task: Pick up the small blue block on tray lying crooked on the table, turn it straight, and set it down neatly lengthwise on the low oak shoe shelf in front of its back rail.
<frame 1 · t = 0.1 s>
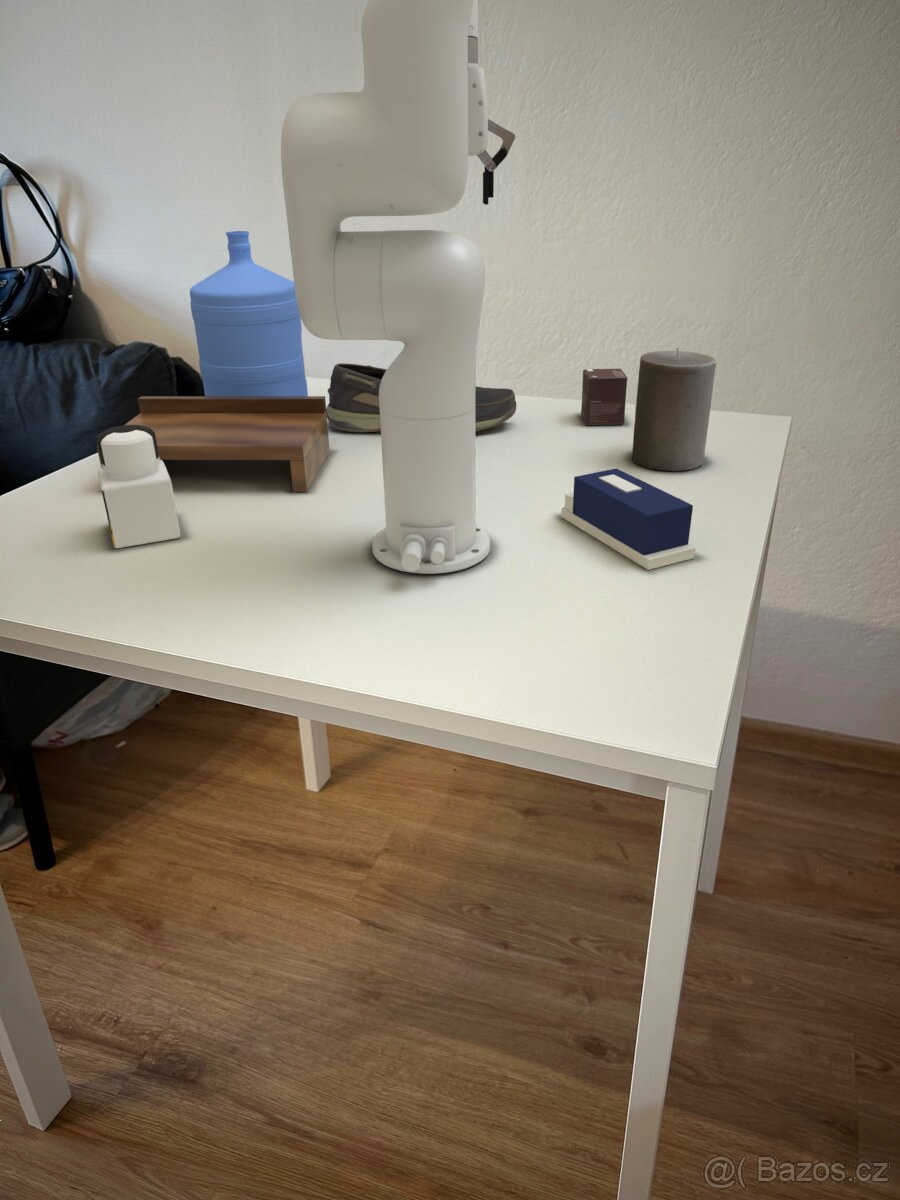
hand: (450, 204, 117), 31 cm above the table, tool pointing down, fingers open, 9 cm apart
shelf: (224, 470, 116), on the table
medicine bottle: (145, 534, 98), on the table
box: (601, 421, 134), on the table
water jug: (261, 428, 134), on the table
pillar candle: (667, 461, 117), on the table
blue block on tray: (624, 536, 95), on the table
boat shoe: (421, 428, 133), on the table
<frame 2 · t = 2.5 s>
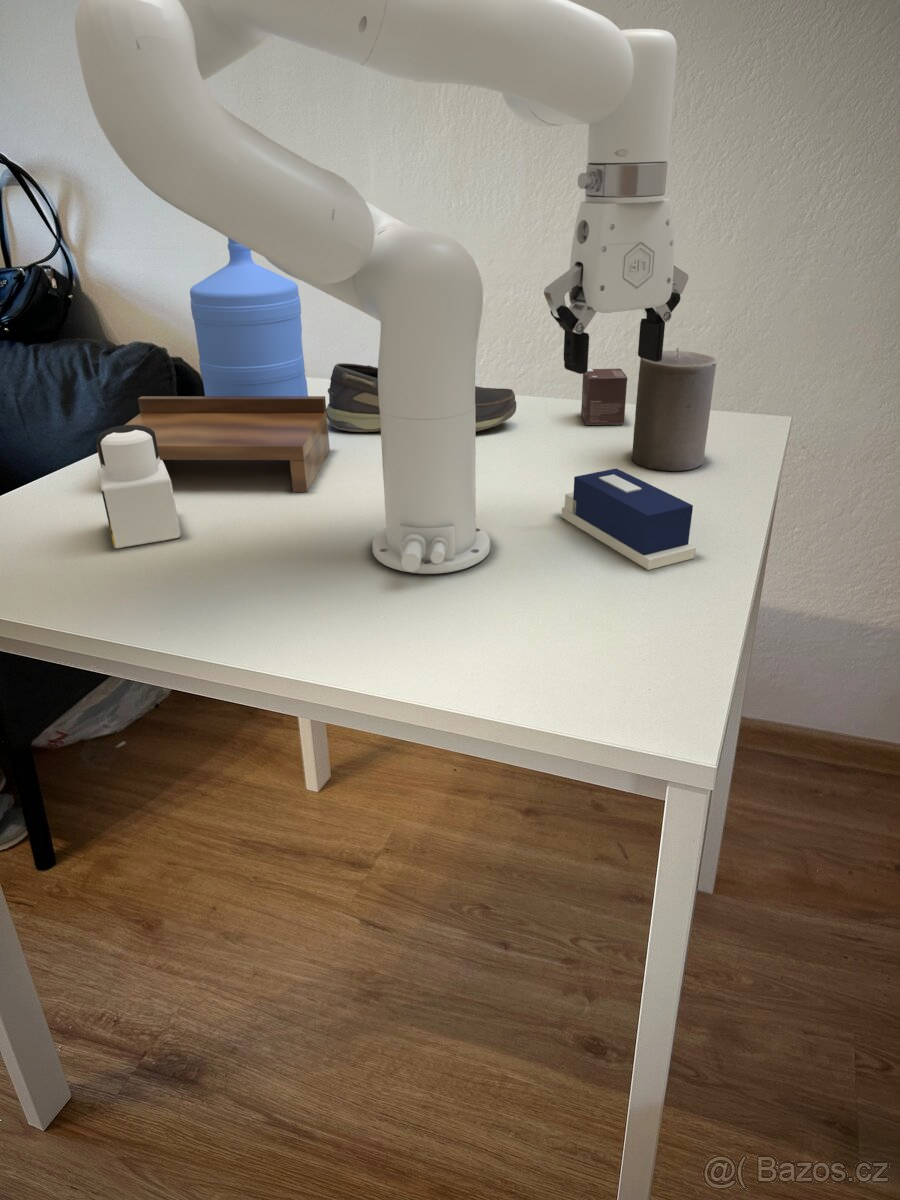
hand: (613, 365, 90), 18 cm above the table, tool pointing down, fingers open, 9 cm apart
nothing on the table moved.
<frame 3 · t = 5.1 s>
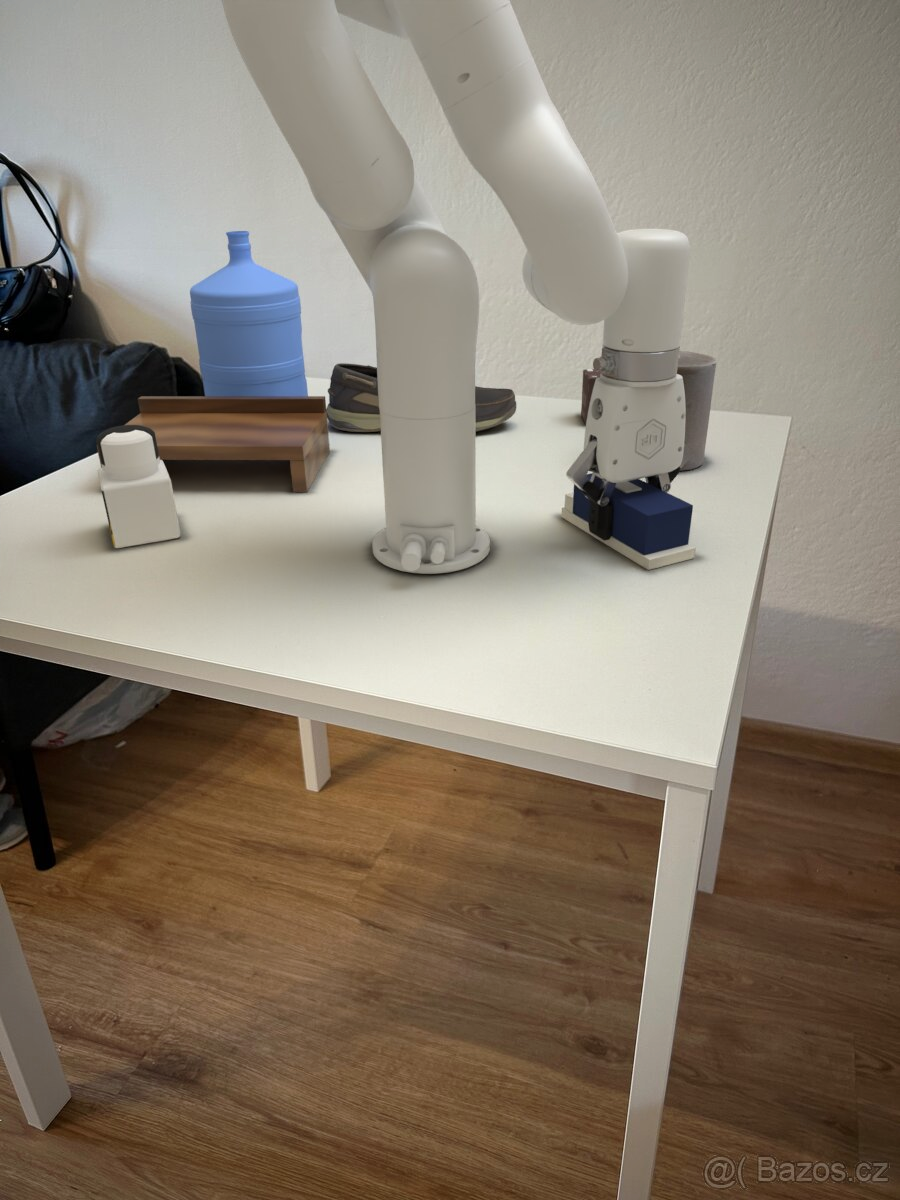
hand: (625, 528, 94), 1 cm above the table, tool pointing down, fingers closed on blue block on tray, 6 cm apart
blue block on tray: (624, 536, 95), on the table, touching gripper
everything else where it was.
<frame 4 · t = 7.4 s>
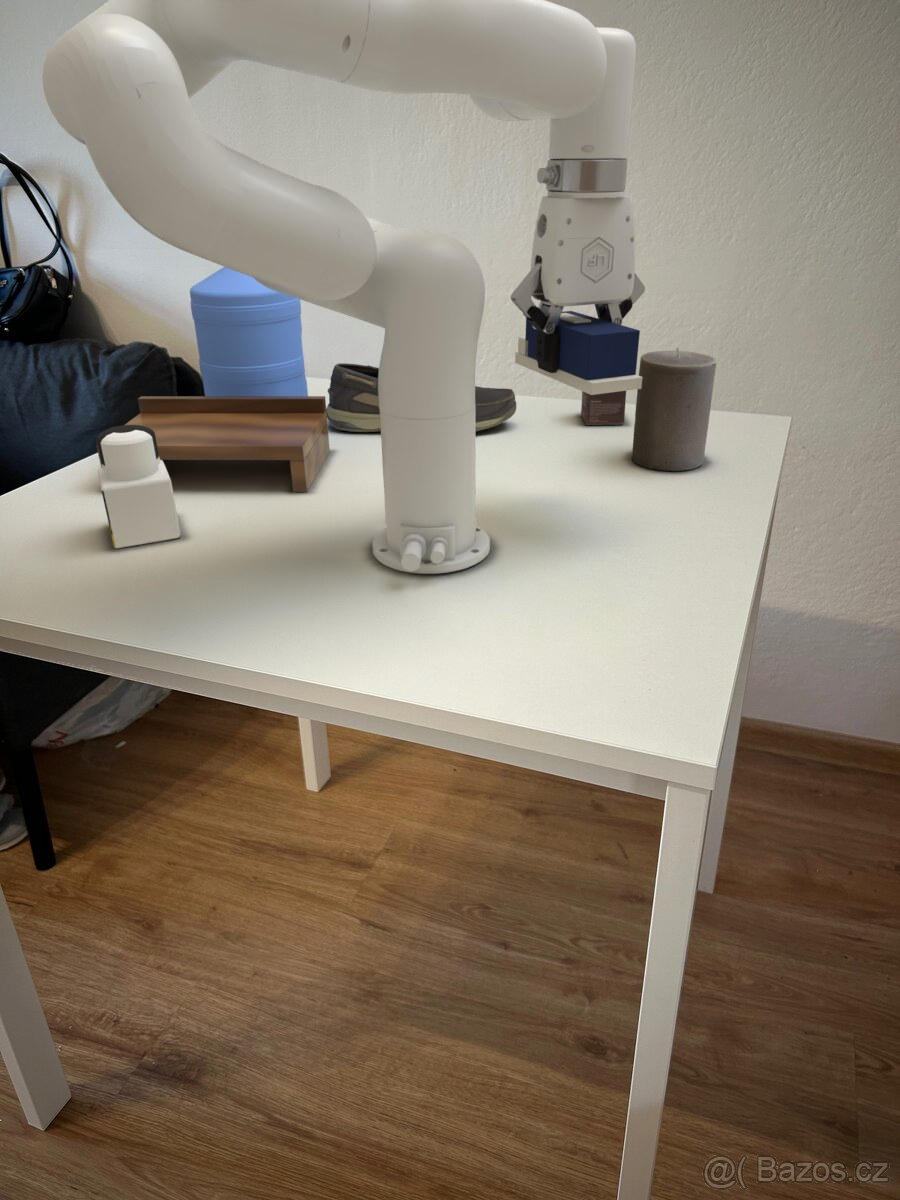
hand: (575, 365, 92), 17 cm above the table, tool pointing down, fingers closed on blue block on tray, 6 cm apart
blue block on tray: (574, 375, 93), point 16 cm above the table, touching gripper
everything else where it was.
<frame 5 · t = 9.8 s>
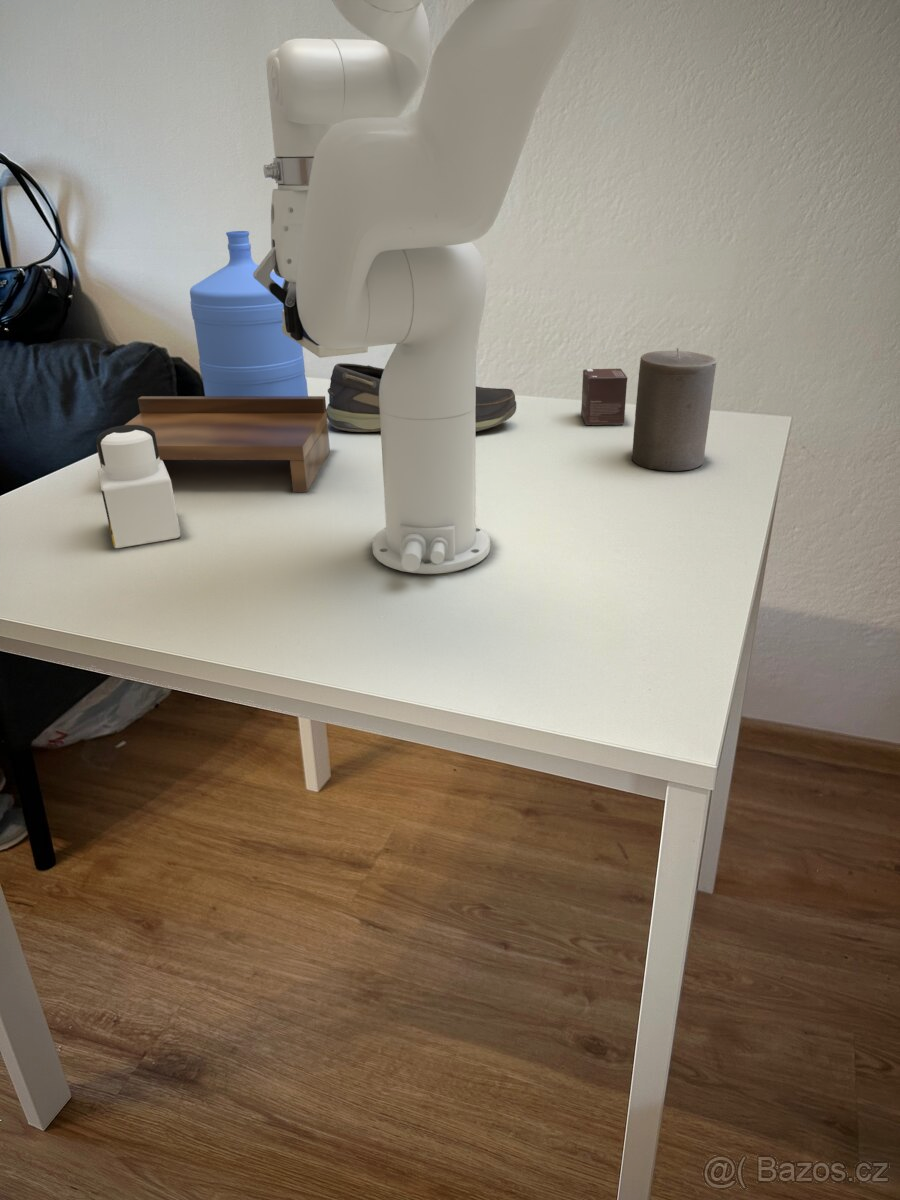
hand: (322, 334, 107), 18 cm above the table, tool pointing down, fingers closed on blue block on tray, 6 cm apart
blue block on tray: (323, 342, 108), point 17 cm above the table, touching gripper
everything else where it was.
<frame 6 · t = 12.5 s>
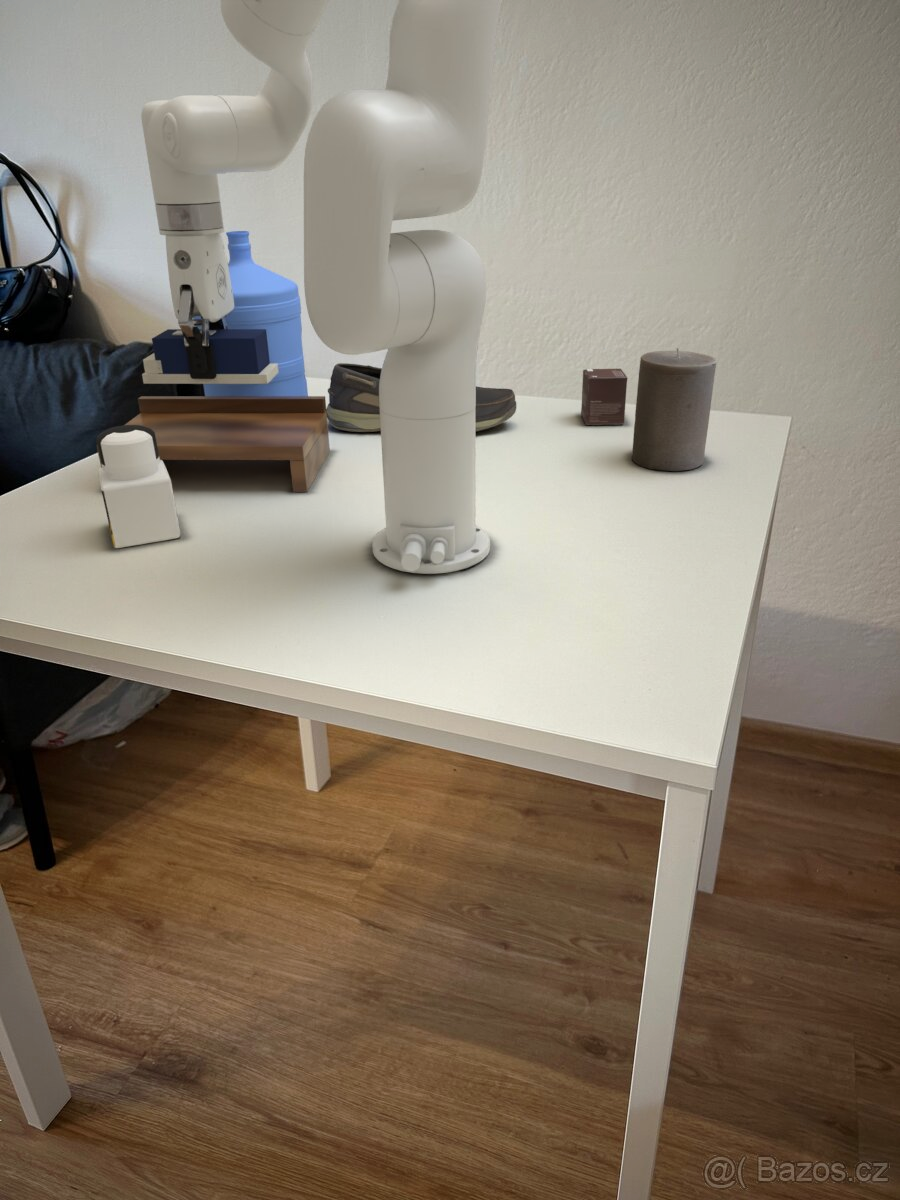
hand: (211, 370, 111), 13 cm above the table, tool pointing down, fingers closed on blue block on tray, 6 cm apart
blue block on tray: (212, 378, 111), point 12 cm above the table, touching gripper
everything else where it was.
when the fingers open (7 cm above the table, at t = 14.5 s): blue block on tray stays where it is, resting on shelf.
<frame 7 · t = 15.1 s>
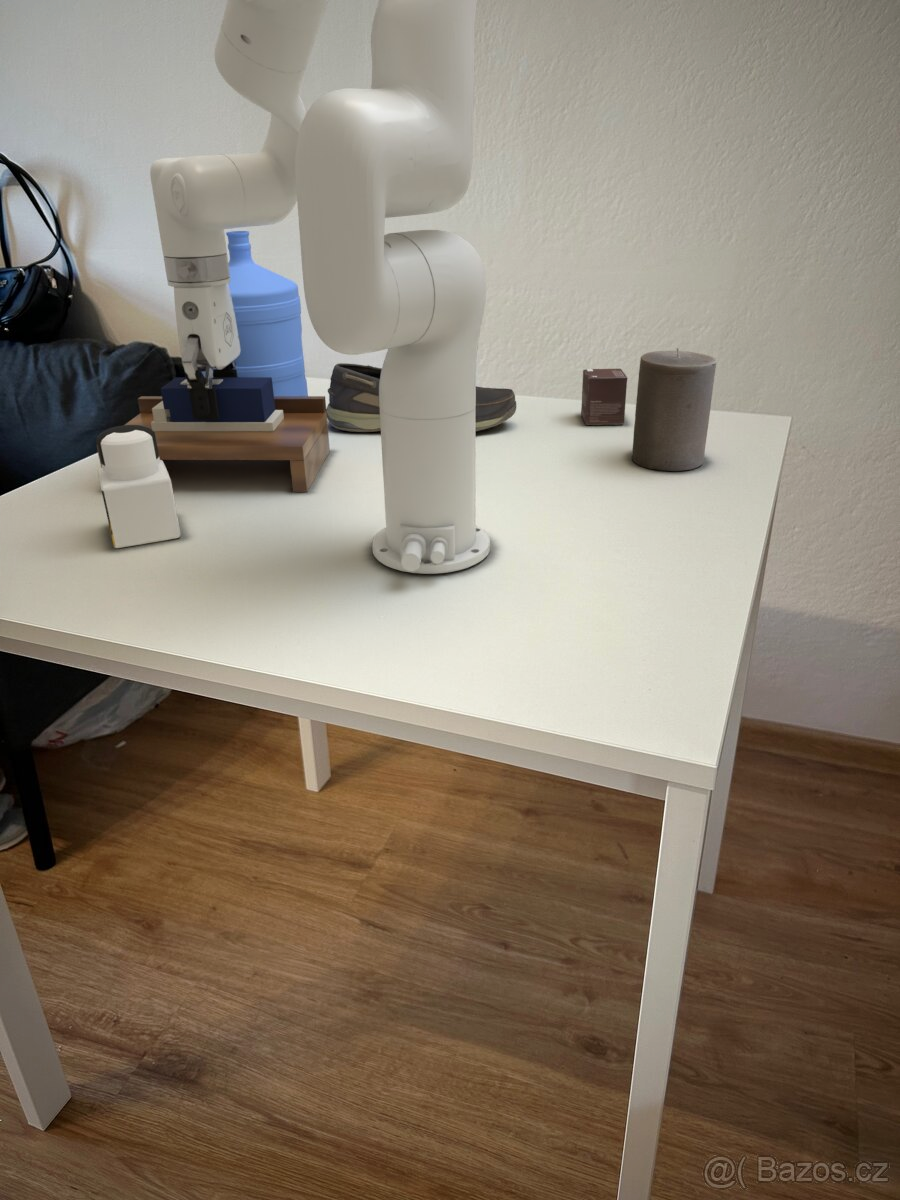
hand: (217, 408, 113), 8 cm above the table, tool pointing down, fingers open, 9 cm apart
blue block on tray: (219, 424, 114), point 6 cm above the table, touching shelf
everything else where it was.
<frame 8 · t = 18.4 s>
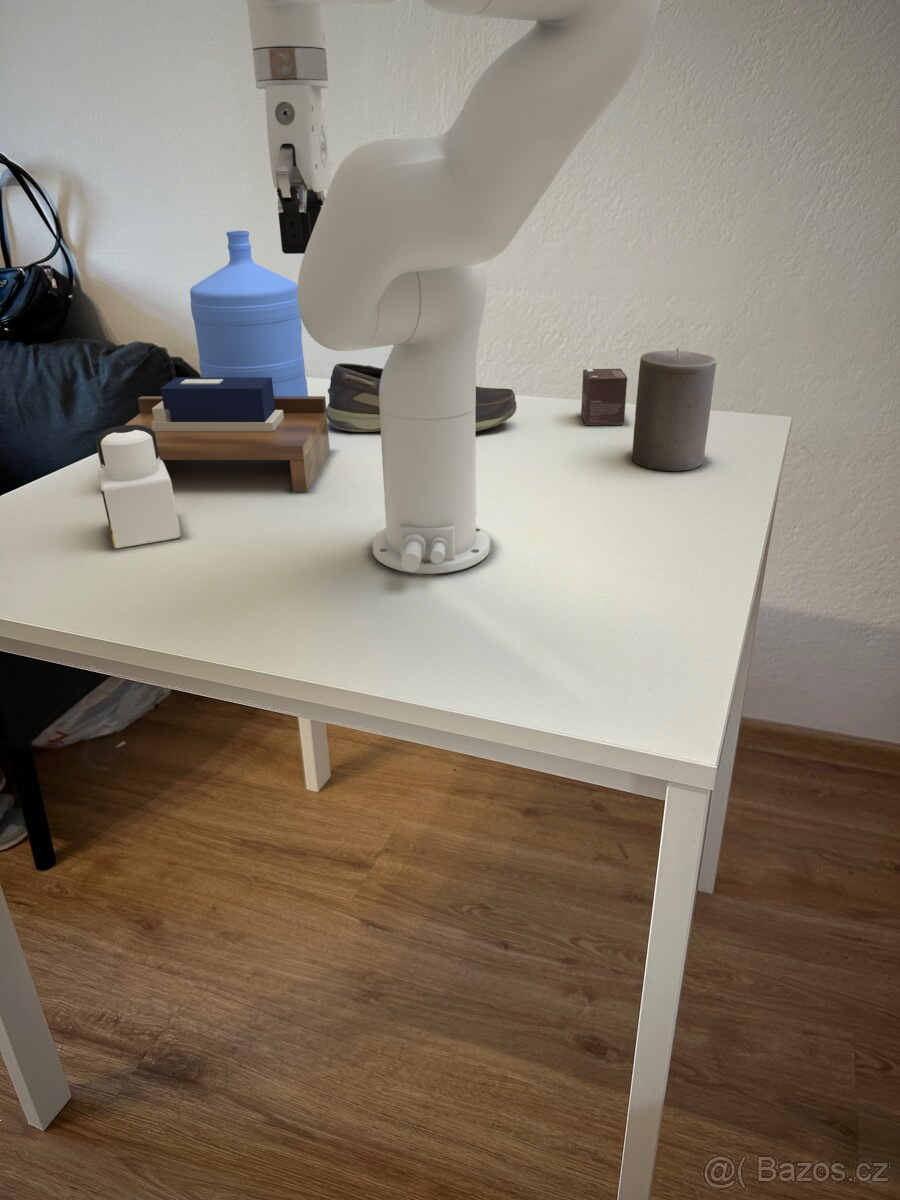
hand: (306, 248, 98), 28 cm above the table, tool pointing down, fingers open, 9 cm apart
nothing on the table moved.
at the end: blue block on tray inside the target area on the shelf (0.5 cm from its centre), point 6.0 cm above the shelf's base; blue block on tray tilted 0°; the gripper is holding nothing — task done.
